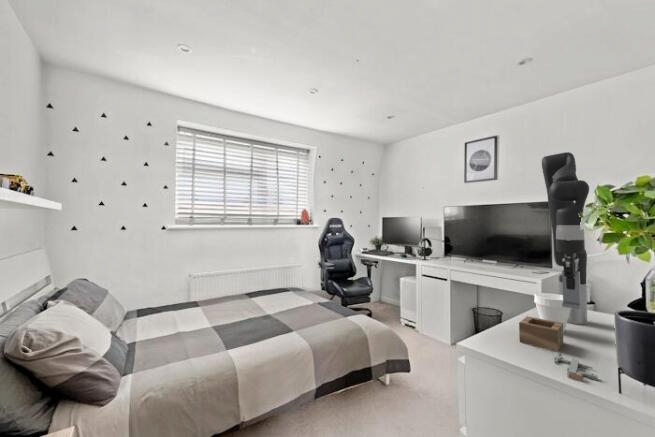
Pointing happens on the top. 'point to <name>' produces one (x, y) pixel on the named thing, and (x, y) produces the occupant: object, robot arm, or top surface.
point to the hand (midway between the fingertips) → (571, 288)
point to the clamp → (575, 369)
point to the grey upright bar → (571, 292)
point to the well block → (541, 333)
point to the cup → (552, 308)
